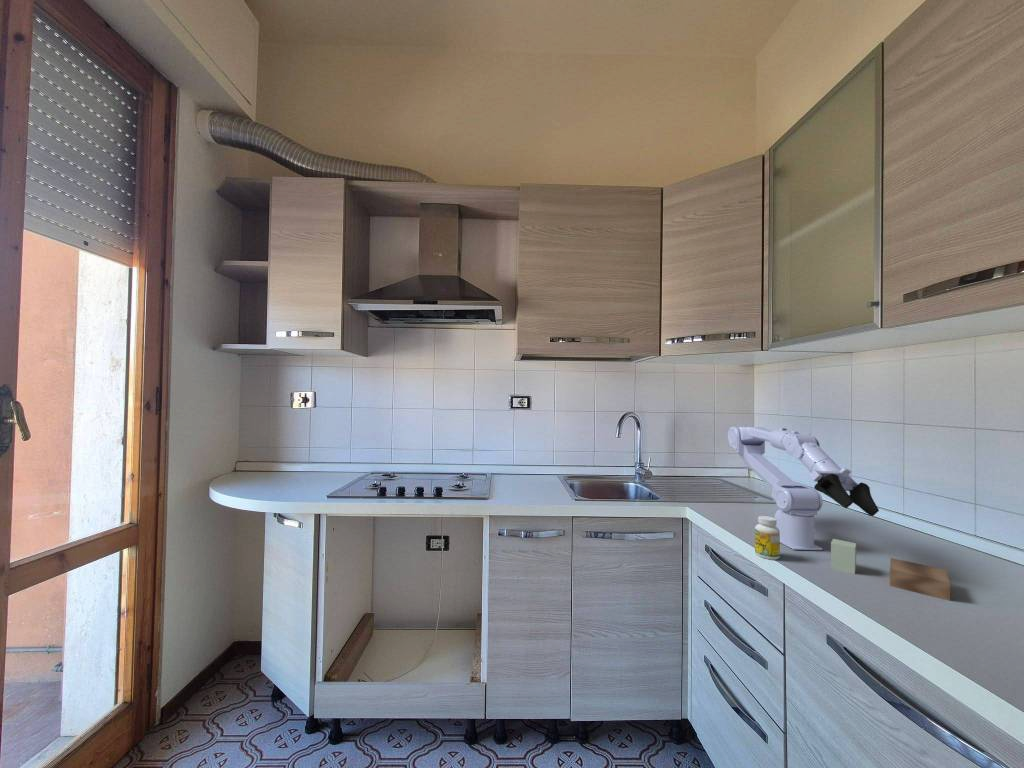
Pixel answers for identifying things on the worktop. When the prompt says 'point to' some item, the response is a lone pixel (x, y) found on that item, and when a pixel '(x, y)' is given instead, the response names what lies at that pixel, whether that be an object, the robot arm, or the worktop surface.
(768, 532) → the supplement bottle
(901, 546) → the worktop surface
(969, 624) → the worktop surface
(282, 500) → the worktop surface
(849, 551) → the sage brick
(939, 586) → the walnut block
